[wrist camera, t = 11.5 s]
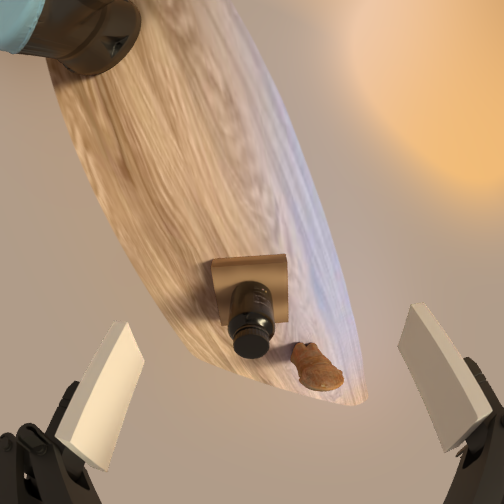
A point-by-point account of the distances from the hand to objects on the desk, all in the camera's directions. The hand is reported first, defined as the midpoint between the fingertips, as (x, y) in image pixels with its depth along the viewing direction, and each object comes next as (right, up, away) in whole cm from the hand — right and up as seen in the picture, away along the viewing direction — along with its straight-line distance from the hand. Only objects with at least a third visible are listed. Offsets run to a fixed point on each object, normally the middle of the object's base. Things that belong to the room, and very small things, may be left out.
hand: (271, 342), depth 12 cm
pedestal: (-1, -2, +37) cm, 37 cm away
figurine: (+11, -15, +43) cm, 47 cm away
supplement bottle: (-1, -3, +34) cm, 35 cm away
